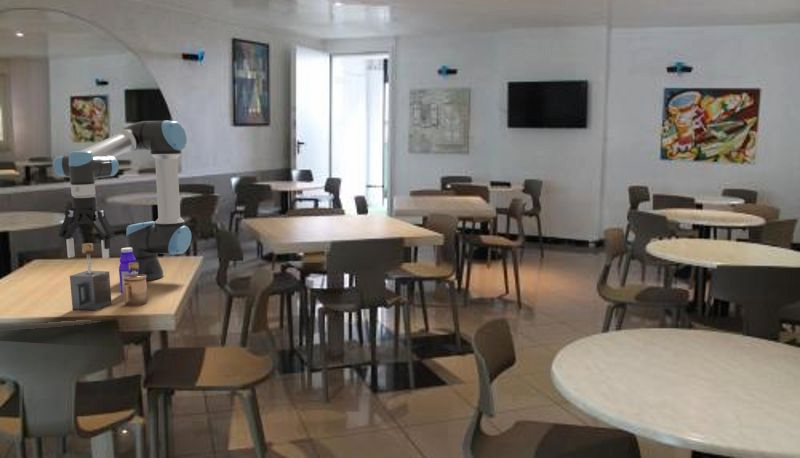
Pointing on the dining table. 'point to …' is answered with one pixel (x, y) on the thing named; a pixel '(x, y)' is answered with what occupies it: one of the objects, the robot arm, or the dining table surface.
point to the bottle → (125, 264)
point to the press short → (134, 287)
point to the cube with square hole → (90, 290)
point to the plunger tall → (88, 253)
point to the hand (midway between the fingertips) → (88, 257)
